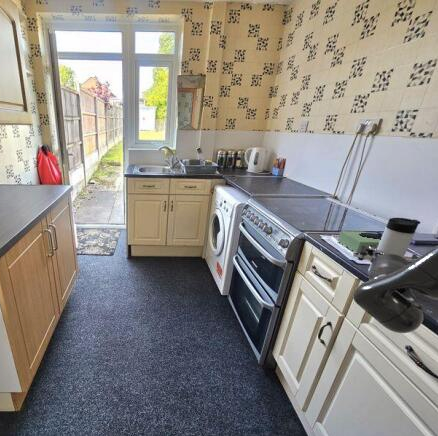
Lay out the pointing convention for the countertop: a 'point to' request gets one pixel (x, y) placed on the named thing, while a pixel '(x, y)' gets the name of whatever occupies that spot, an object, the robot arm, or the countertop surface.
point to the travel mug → (397, 236)
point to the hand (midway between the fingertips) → (392, 252)
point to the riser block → (356, 240)
